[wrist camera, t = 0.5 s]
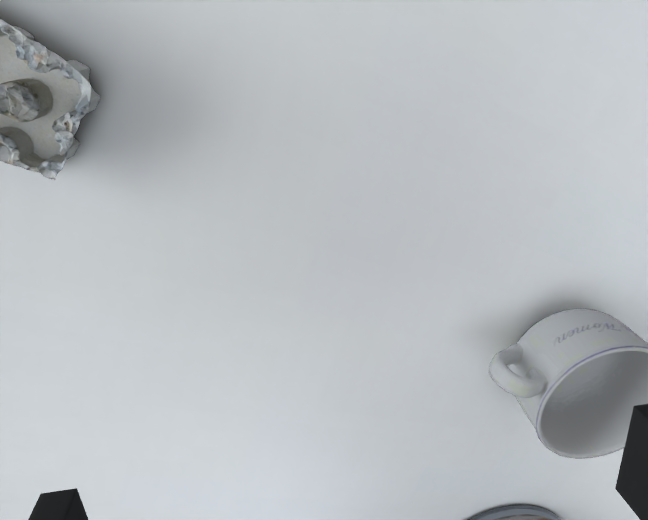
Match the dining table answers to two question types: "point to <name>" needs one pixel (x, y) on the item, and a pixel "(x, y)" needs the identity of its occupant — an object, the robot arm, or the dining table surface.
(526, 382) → the teacup
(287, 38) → the dining table surface
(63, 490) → the robot arm
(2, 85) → the egg carton
